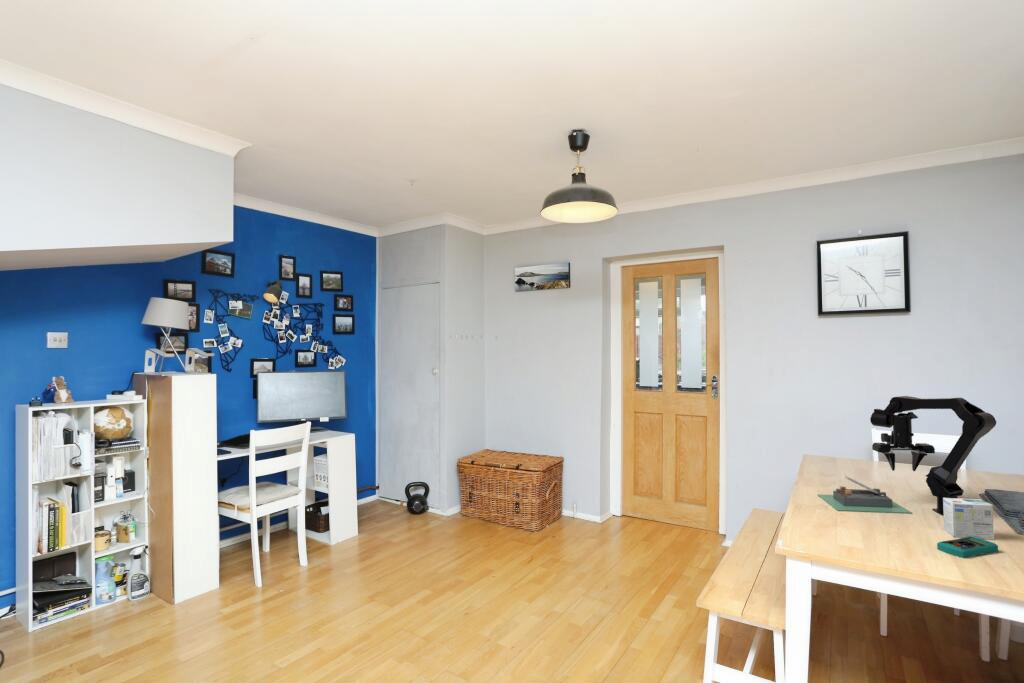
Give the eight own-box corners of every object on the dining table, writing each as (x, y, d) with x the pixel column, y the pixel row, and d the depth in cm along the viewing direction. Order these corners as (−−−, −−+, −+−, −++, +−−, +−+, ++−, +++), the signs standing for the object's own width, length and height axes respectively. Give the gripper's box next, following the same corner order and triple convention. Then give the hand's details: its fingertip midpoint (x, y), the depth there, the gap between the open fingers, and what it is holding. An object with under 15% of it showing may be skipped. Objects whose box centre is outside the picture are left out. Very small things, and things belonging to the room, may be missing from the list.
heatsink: (892, 507, 194) (892, 493, 194) (844, 506, 197) (843, 492, 197) (879, 499, 203) (878, 486, 203) (833, 498, 207) (833, 484, 207)
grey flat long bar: (878, 494, 198) (879, 493, 198) (847, 479, 200) (848, 477, 200) (874, 492, 201) (876, 490, 200) (844, 477, 203) (845, 475, 203)
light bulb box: (982, 532, 169) (981, 498, 169) (995, 540, 162) (994, 504, 162) (942, 530, 172) (941, 496, 172) (953, 537, 165) (952, 502, 165)
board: (912, 513, 188) (912, 512, 188) (837, 510, 193) (837, 509, 193) (884, 497, 207) (884, 496, 207) (817, 495, 212) (817, 494, 212)
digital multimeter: (935, 550, 156) (934, 540, 156) (971, 544, 161) (971, 534, 161) (962, 560, 149) (962, 550, 149) (999, 553, 154) (999, 543, 154)
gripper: (918, 426, 207) (919, 466, 207) (865, 426, 211) (866, 465, 211) (935, 431, 196) (936, 473, 196) (878, 430, 200) (879, 472, 200)
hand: (903, 470), depth 201 cm, fingers open, 7 cm apart
